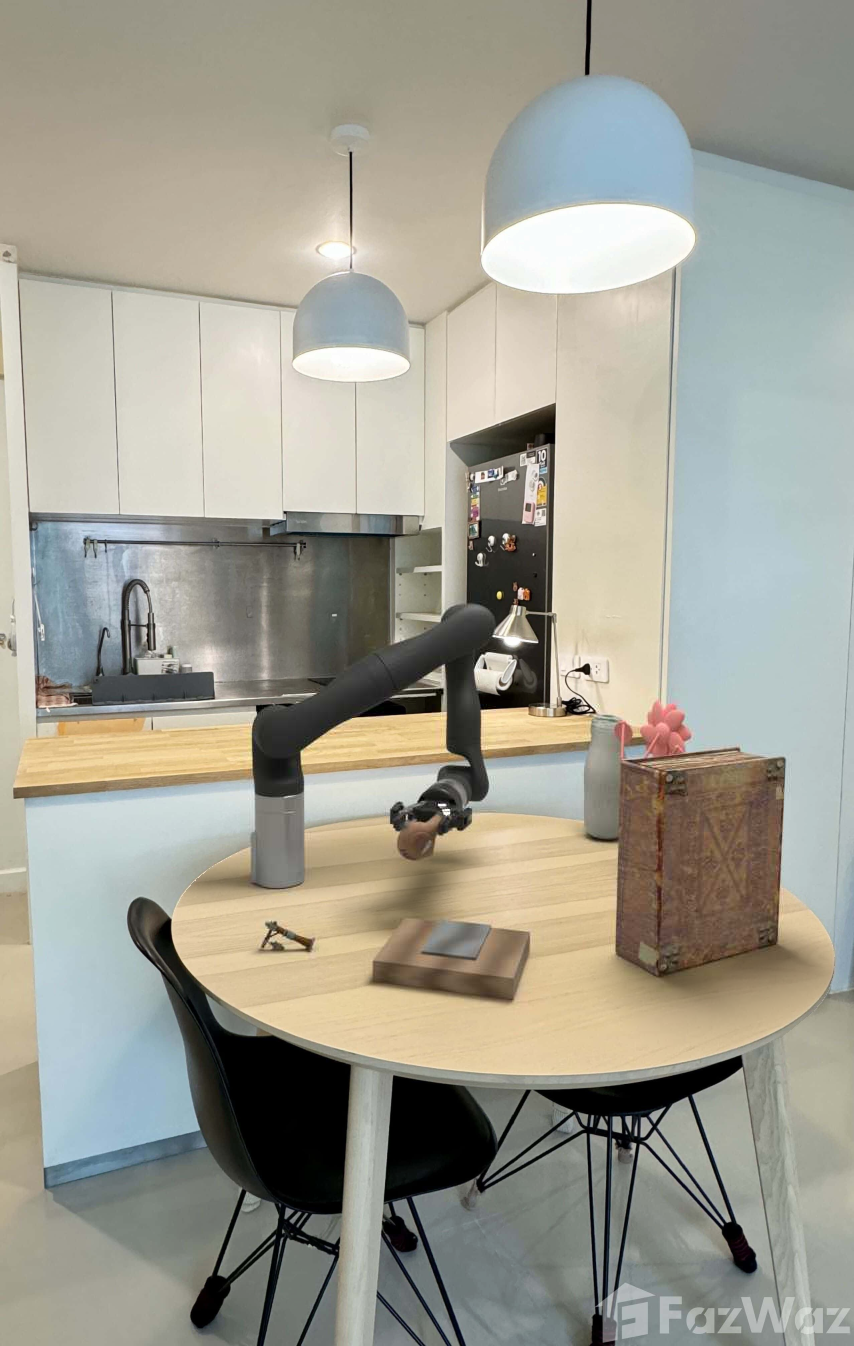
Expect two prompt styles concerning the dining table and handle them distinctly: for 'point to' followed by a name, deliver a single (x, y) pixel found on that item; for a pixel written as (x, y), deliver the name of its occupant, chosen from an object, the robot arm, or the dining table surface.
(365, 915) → the dining table surface
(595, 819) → the glass bottle
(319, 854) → the dining table surface
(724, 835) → the book
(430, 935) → the wooden block
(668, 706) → the pink flower ornament
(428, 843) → the oil lamp
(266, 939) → the wooden blunderbuss cannon
